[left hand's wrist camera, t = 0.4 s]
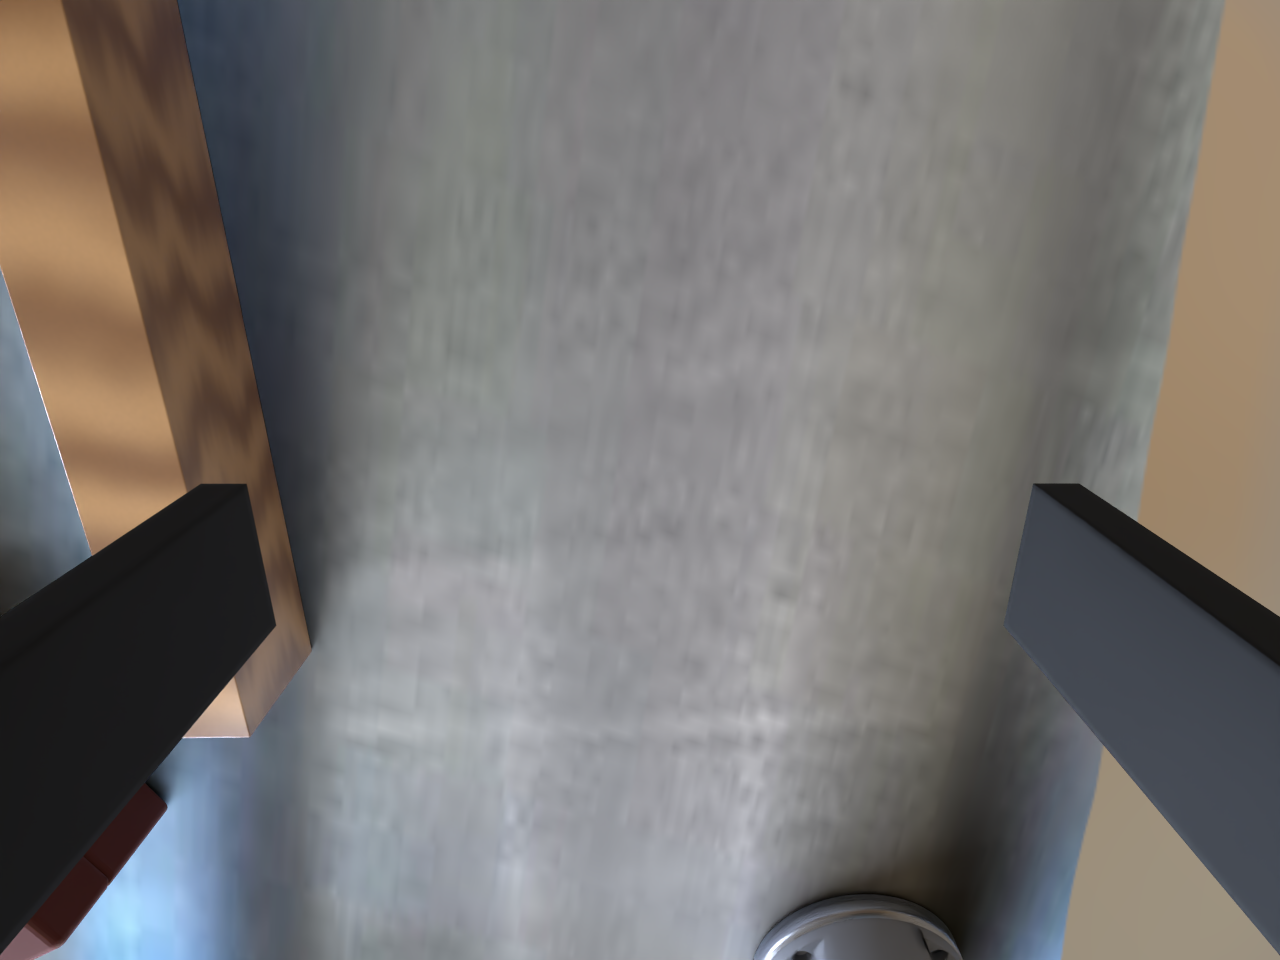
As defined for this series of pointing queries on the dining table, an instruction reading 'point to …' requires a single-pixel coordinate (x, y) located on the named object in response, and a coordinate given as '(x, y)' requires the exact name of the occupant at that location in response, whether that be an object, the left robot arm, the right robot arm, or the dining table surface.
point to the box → (87, 879)
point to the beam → (135, 294)
